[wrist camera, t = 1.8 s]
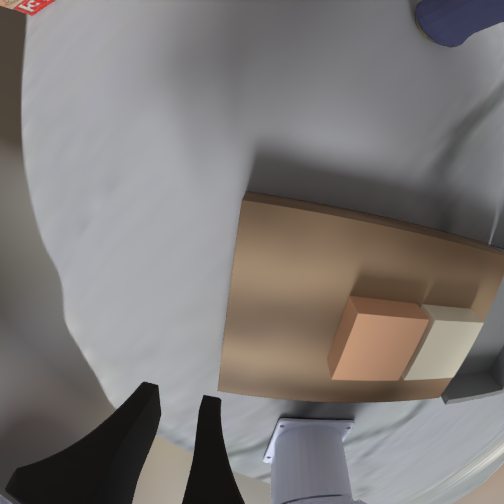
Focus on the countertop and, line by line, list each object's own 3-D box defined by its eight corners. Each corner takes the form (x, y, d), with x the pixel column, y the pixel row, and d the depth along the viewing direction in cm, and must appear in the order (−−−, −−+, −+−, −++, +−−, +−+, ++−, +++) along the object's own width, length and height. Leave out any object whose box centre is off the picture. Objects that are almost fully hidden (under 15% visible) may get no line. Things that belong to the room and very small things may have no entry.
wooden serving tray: (428, 377, 23) (439, 397, 20) (222, 365, 23) (217, 390, 20) (488, 244, 18) (509, 257, 15) (245, 191, 18) (242, 199, 15)
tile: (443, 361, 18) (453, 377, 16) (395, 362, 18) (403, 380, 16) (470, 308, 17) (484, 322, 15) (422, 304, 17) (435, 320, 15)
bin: (487, 371, 23) (502, 393, 19) (430, 377, 23) (445, 404, 19) (539, 260, 18) (563, 276, 14) (490, 244, 18) (519, 263, 14)
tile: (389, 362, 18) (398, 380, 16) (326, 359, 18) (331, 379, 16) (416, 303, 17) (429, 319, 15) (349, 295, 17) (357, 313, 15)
